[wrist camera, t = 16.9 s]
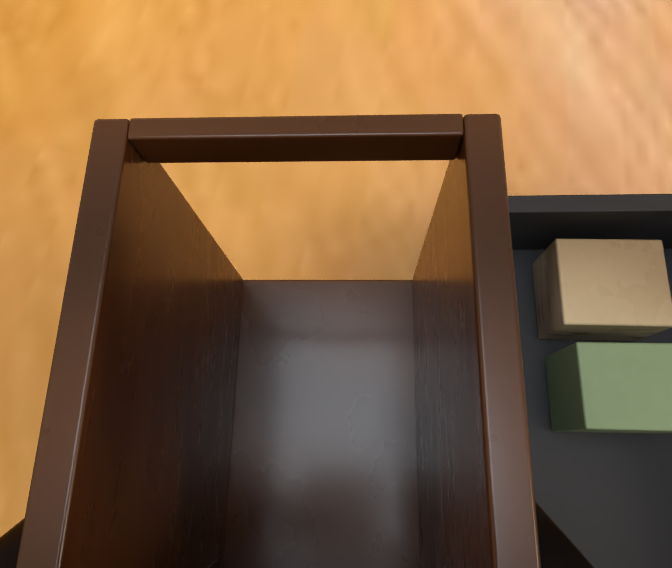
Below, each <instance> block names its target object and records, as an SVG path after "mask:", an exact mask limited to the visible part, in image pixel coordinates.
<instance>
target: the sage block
mask: <svg viewBox="0 0 672 568" xmlns="http://www.w3.org/2000/svg"><path fill="white" fill-rule="evenodd" d="M545 363H546V374H547V384H548V395H549V406H550V417H551V428H552V431H558V432H602V433H646V434H658V433H672V343H613V342H576V343H574V344H572V345H570V346H568V347H566V348H564V349H561V350H559V351H557V352H555V353H553V354H551V355H549V356H546V357H545Z"/></svg>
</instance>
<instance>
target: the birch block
mask: <svg viewBox="0 0 672 568" xmlns="http://www.w3.org/2000/svg"><path fill="white" fill-rule="evenodd" d="M532 267H533V279H534V291H535V304H536V316H537V328H538V338H539V339H552V340H598V341H636V340H639V339H642V338H645V337H647V336H650V335H653V334H655V333H658V332H661V331H663V330H666V329H669V328H671V327H672V300H671V293H670V287H669V281H668V274H667V268H666V262H665V256H664V249H663V243H662V240H635V239H555V240H554V241H553V242H552V244H551V245H550V246H549V247H548V248H547V249H546V250H545V251H544V252H543V253H542V254H541V255H540V256H539V257H538V258H537V259H536V260H535V261H534V262H533V264H532Z"/></svg>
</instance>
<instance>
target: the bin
mask: <svg viewBox="0 0 672 568" xmlns="http://www.w3.org/2000/svg"><path fill="white" fill-rule="evenodd" d="M508 206H509V217H510V228H511V239H512V250H513V261H514V273H515V284H516V295H517V306H518V317H519V328H520V340H521V351H522V362H523V373H524V384H525V395H526V407H527V418H528V429H529V440H530V451H531V462H532V473H533V485H534V496H535V501H536V502H537V503H538V504H539V505H540V506H541V507H542V508H543V510H544V511H545V512H546V513H547V514H548V515H549V516H550V518H551V519H552V520H553V521H554V522H555V523H556V524H557V526H558V527H559V528H560V529H561V530H562V531H563V532H564V534H565V535H566V536H567V537H568V538H569V539H570V540H571V542H572V543H573V544H574V545H575V546H576V547H577V548H578V550H579V551H580V552H581V553H582V554H583V555H584V556H585V558H586V559H587V560H588V561H589V562H590V563H591V564H592V565H593V567H594V568H672V433H658V434H646V433H602V432H558V431H552V428H551V417H550V406H549V395H548V384H547V374H546V363H545V357H546V356H549V355H551V354H553V353H555V352H557V351H559V350H561V349H564V348H566V347H568V346H570V345H572V344H574V343H576V342H613V343H672V327H671V328H669V329H666V330H663V331H661V332H658V333H655V334H653V335H650V336H647V337H645V338H642V339H639V340H636V341H598V340H552V339H539V338H538V328H537V316H536V304H535V291H534V279H533V267H532V264H533V262H534V261H535V260H536V259H537V258H538V257H539V256H540V255H541V254H542V253H543V252H544V251H545V250H546V249H547V248H548V247H549V246H550V245H551V244H552V242H553V241H554V240H555V239H635V240H662V243H663V249H664V256H665V262H666V268H667V274H668V281H669V287H670V293H671V300H672V194H623V195H543V196H508Z"/></svg>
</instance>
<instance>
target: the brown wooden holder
mask: <svg viewBox="0 0 672 568" xmlns="http://www.w3.org/2000/svg"><path fill="white" fill-rule="evenodd" d="M400 160H450V161H449V165H448V168H447V171H446V174H445V177H444V181H443V184H442V187H441V190H440V193H439V197H438V200H437V203H436V206H435V209H434V213H433V216H432V219H431V222H430V225H429V229H428V232H427V235H426V238H425V242H424V245H423V248H422V251H421V254H420V258H419V261H418V264H417V267H416V270H415V274H414V277H413V280H243V279H242V278H241V276H240V275H239V273H238V272H237V271H236V269H235V268H234V266H233V265H232V264H231V262H230V261H229V259H228V258H227V257H226V255H225V254H224V252H223V251H222V250H221V248H220V247H219V245H218V244H217V243H216V241H215V240H214V238H213V237H212V236H211V234H210V233H209V231H208V230H207V229H206V227H205V226H204V224H203V223H202V222H201V220H200V219H199V217H198V216H197V215H196V213H195V212H194V210H193V209H192V208H191V206H190V205H189V203H188V202H187V201H186V199H185V198H184V196H183V195H182V193H181V192H180V191H179V189H178V188H177V186H176V185H175V184H174V182H173V181H172V179H171V178H170V177H169V175H168V174H167V172H166V171H165V170H164V168H163V167H162V165H161V164H160V163H198V162H299V161H400ZM16 568H541V563H540V552H539V540H538V529H537V518H536V507H535V496H534V485H533V473H532V462H531V451H530V440H529V429H528V418H527V407H526V395H525V384H524V373H523V362H522V351H521V340H520V328H519V317H518V306H517V295H516V284H515V273H514V261H513V250H512V239H511V228H510V217H509V206H508V195H507V183H506V172H505V161H504V150H503V139H502V128H501V118H500V116H499V115H498V114H468V115H465V116H464V117H462V114H421V115H350V116H279V117H208V118H137V119H131V120H130V121H129V120H127V119H97V120H95V122H94V127H93V133H92V139H91V144H90V150H89V156H88V161H87V167H86V173H85V179H84V184H83V190H82V196H81V201H80V207H79V213H78V218H77V224H76V230H75V235H74V241H73V247H72V253H71V258H70V264H69V270H68V275H67V281H66V287H65V292H64V298H63V304H62V309H61V315H60V321H59V326H58V332H57V338H56V344H55V349H54V355H53V361H52V366H51V372H50V378H49V383H48V389H47V395H46V400H45V406H44V412H43V418H42V423H41V429H40V435H39V440H38V446H37V452H36V457H35V463H34V469H33V474H32V480H31V486H30V491H29V497H28V503H27V509H26V514H25V520H24V526H23V531H22V537H21V543H20V548H19V554H18V560H17V565H16Z"/></svg>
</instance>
